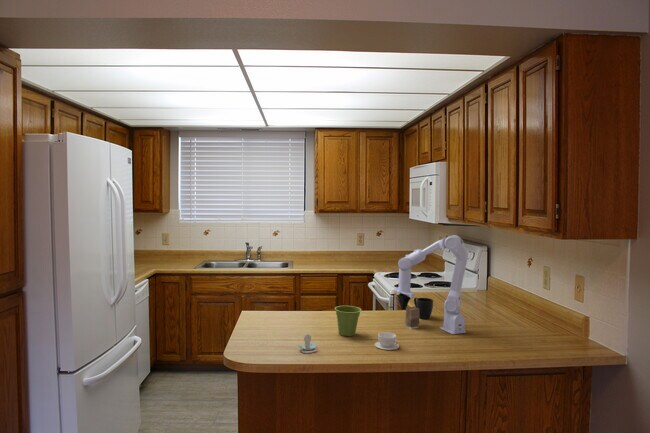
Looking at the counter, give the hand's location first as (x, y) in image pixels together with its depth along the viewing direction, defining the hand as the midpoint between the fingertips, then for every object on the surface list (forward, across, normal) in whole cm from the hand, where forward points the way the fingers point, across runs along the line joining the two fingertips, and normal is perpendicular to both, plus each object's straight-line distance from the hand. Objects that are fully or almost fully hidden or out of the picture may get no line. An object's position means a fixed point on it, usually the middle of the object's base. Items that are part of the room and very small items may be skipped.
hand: (403, 309), depth 203 cm
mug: (+7, -6, +15) cm, 17 cm away
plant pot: (+7, +8, -34) cm, 35 cm away
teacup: (+7, +26, -25) cm, 37 cm away
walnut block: (+6, +8, 0) cm, 10 cm away
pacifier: (+7, +21, -58) cm, 62 cm away
